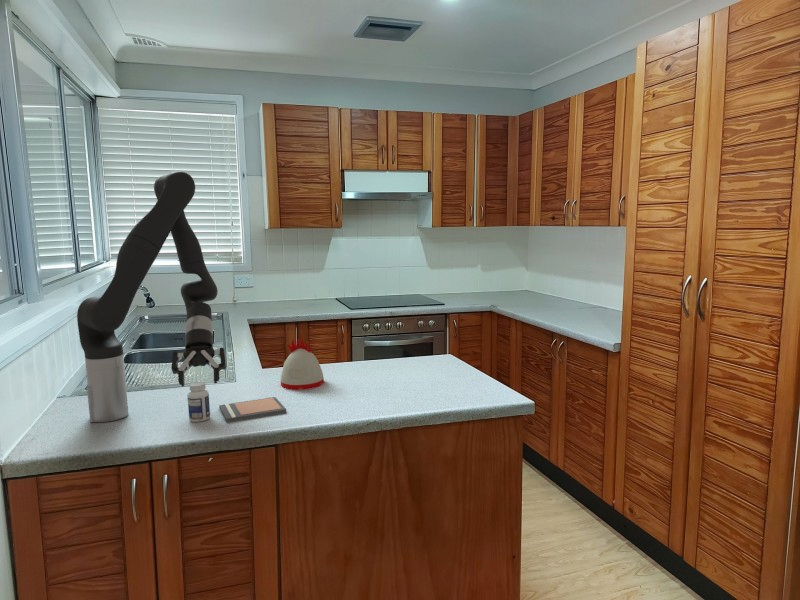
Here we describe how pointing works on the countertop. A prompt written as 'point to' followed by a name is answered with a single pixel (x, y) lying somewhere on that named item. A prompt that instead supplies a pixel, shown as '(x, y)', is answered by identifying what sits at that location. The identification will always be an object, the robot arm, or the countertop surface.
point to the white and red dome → (301, 369)
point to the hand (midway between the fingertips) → (199, 383)
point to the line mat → (251, 409)
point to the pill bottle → (198, 402)
